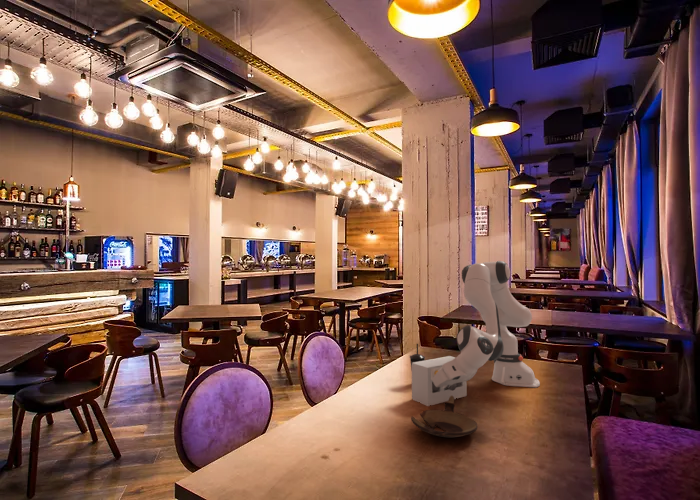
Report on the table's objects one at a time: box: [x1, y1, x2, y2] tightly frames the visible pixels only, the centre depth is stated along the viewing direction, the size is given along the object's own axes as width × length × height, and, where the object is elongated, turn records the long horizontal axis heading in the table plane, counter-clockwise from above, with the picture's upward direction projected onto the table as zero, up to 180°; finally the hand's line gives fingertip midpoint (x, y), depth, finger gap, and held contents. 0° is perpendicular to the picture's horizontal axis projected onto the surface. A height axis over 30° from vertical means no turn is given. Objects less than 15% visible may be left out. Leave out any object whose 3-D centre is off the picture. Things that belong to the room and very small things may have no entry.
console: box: [411, 355, 468, 407], centre depth 174 cm, size 11×24×16 cm, turn 122°
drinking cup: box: [409, 343, 426, 372], centre depth 193 cm, size 8×8×20 cm
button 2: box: [446, 383, 456, 391], centre depth 168 cm, size 3×4×4 cm
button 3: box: [432, 382, 440, 392], centre depth 167 cm, size 3×4×4 cm
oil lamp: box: [410, 396, 478, 439], centre depth 139 cm, size 22×30×8 cm
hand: (444, 386), depth 161 cm, fingers closed
